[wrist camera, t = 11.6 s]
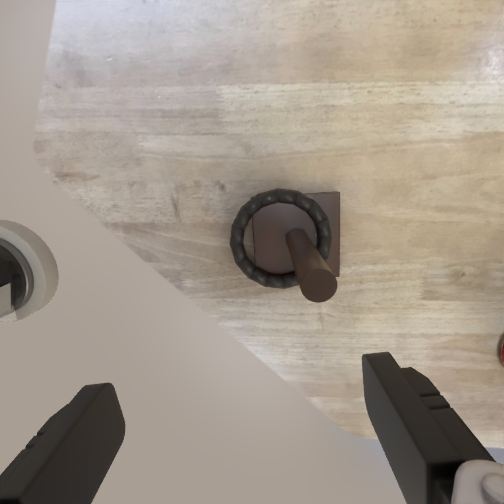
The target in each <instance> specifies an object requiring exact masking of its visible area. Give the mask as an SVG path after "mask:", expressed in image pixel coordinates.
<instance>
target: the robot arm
mask: <svg viewBox="0 0 504 504" xmlns="http://www.w3.org/2000/svg"><path fill="white" fill-rule="evenodd" d="M33 289H34V277H33V272H32V269H31V267H30V265H29V263H28V261H27V259H26V258H25V256H24V255H23V254H22V253H21V252H20V251H19V250H18V249H17V248H16V247H15V246H14V245H12V244H11V243H9V242H8V241H6V240H4V239H2V238H0V318H2V317H4V316H5V315H8V314H11V313H13V312H14V311H16V310H18V309H20V308H21V307H23V306H24V305H25V304H26V303H27V302H28V301H29V299H30V298H31V295H32V293H33ZM362 369H363V384H364V397H365V403H366V408H367V412H368V415H369V418H370V420H371V423H372V425H373V427H374V430H375V432H376V434H377V436H378V439H379V441H380V443H381V445H382V448H383V450H384V452H385V455H386V457H387V459H388V461H389V464H390V466H391V468H392V471H393V473H394V475H395V477H396V480H397V482H398V484H399V487H400V489H401V491H402V493H403V496H404V498H405V500H406V503H407V504H504V465H503V464H499V463H497V462H496V461H495V460H494V459H493V458H492V456H491V455H490V454H489V453H488V451H487V450H486V449H485V448H484V447H483V445H482V444H481V443H480V442H479V440H478V439H477V438H476V437H475V435H474V434H473V433H472V432H471V430H470V429H469V428H468V427H467V426H466V424H465V423H464V422H463V421H462V419H461V418H460V417H459V416H458V414H457V413H456V412H455V411H454V409H453V408H451V407H450V405H449V403H448V402H447V401H446V400H445V398H444V397H443V396H442V395H440V392H439V391H438V390H437V388H436V387H435V386H434V385H433V383H432V382H431V381H430V380H429V379H428V378H427V377H426V376H424V375H423V374H421V373H419V372H418V371H416V370H415V369H413V368H412V367H408V368H400V367H399V365H398V364H397V362H396V361H395V359H394V358H393V357H392V355H391V354H390V353H389V352H380V353H371V354H363V355H362ZM124 435H125V421H124V417H123V414H122V411H121V407H120V405H119V401H118V398H117V395H116V392H115V388H114V386H113V385H112V384H111V383H102V384H93V385H86V386H84V387H83V388H82V389H81V390H80V391H79V392H78V393H77V395H76V396H75V397H74V398H73V400H72V401H71V402H70V403H69V404H67V405H66V406H64V407H63V408H62V409H61V410H59V411H58V412H57V413H56V414H54V415H53V416H52V417H50V419H49V420H48V421H47V422H46V423H45V424H44V425H43V427H42V428H41V429H40V430H39V431H38V432H37V436H34V437H33V438H32V439H31V440H30V442H29V443H28V444H27V445H26V448H25V449H24V450H22V451H21V452H20V453H19V454H18V456H17V457H16V458H15V459H14V460H13V461H12V463H11V464H10V465H9V466H8V467H7V468H6V469H5V471H4V472H3V473H2V474H1V475H0V504H91V503H92V501H93V499H94V496H95V495H96V493H97V491H98V489H99V487H100V485H101V483H102V481H103V479H104V477H105V475H106V474H107V471H108V470H109V468H110V466H111V464H112V462H113V460H114V458H115V456H116V454H117V452H118V450H119V448H120V446H121V444H122V442H123V439H124Z"/></svg>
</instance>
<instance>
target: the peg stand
mask: <svg viewBox="0 0 504 504" xmlns="http://www.w3.org/2000/svg"><path fill="white" fill-rule="evenodd" d="M304 195H306V196H308V197H309V198H311V199H313V200H315V201H316V202H317V203H318V205H319V206H320V207H321V209H322V210H323V211H324V213H325V214H326V215H327V217H328V219H329V224H330V228H331V233H332V243H331V248H330V254H329V257H328V259H327V260H326V262H325V261H324V259H323V258H322V256H321V255H320V253H319V252H318V250H317V245H318V239H319V237H318V233H317V228H316V224H315V222H314V221H313V220H312V218H311V217H310V216H309V214H308V213H307V212H306V211H304V210H302V209H301V208H299V207H297V206H295V205H294V204H285V203H276V204H272V205H269V206H265V207H263V208H262V209H260V210H259V211H258V212H256V213H255V214H254V215H253V216H252V223H253V238H254V252H255V267H256V268H258V269H260V270H261V271H263V272H265V273H267V274H270V275H278V276H285V275H289V274H292V273H296V275H297V278H298V282H299V285H300V288H301V291H302V294H303V295H304V296H305V297H306V298H307V299H308V300H310V301H312V302H324V301H327V300H329V299H330V298H331V297H332V296H333V295H334V294H335V292H336V290H337V280H336V277H339V265H340V192H322V193H307V194H304ZM252 198H254V197H251V199H252Z"/></svg>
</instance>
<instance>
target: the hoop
mask: <svg viewBox="0 0 504 504" xmlns="http://www.w3.org/2000/svg"><path fill="white" fill-rule="evenodd" d="M276 203H285V204H294V205H295V206H297V207H299V208H301V209H302V210H304V211H306V212H307V213H308V214H309V216H310V217H311V218H312V220H313V221H314V222H315V224H316V228H317V233H318V237H319V239H318V245H317V250H318V252H319V253H320V255H321V256H322V258H323V259H324V261H325V262H326V260H327V259H328V257H329V254H330V248H331V243H332V233H331V228H330V224H329V219H328V217H327V215H326V214H325V213H324V211H323V210H322V209H321V207H320V206H319V205H318V203H317V202H316V201H315V200H313V199H311V198H309V197H308V196H306V195H304V194H302V193H301V192H299V191H293V190H285V189H275V190H271V191H268V192H264V193H261V194H258V195H256V196H255V197H254V198H252V199H251V200H250V201H249V202H247V203H246V204H245V205H244V206H242V207H241V209H240V211H239V213H238V214H237V216H236V218H235V220H234V222H233V224H232V227H231V238H230V247H231V250H232V253H233V256H234V259H235V262H236V264H237V265H238V266H239V268H240V269H241V270H242V271H243V272H244V274H245V275H246V276H247V277H248V278H250V279H251V280H253V281H255V282H257V283H259V284H261V285H263V286H265V287H272V288H281V289H285V288H289V287H293V286H297V285H299V282H298V278H297V275H296V273H292V274H289V275H285V276H278V275H270V274H267V273H265V272H263V271H261V270H260V269H258V268H256V267H255V266H254V265H253V263H252V262H251V261H250V260H249V258H248V257H247V255H246V251H245V248H244V245H243V239H244V230H245V227H246V226H247V224H248V222H249V220H250V218H251V217H252V216H253V215H254V214H255V213H256V212H258V211H259V210H260V209H262V208H263V207H265V206H269V205H272V204H276Z"/></svg>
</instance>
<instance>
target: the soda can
mask: <svg viewBox="0 0 504 504" xmlns="http://www.w3.org/2000/svg"><path fill="white" fill-rule="evenodd" d="M501 360H502V363H503V366H504V340H503V343H502V346H501Z"/></svg>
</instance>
